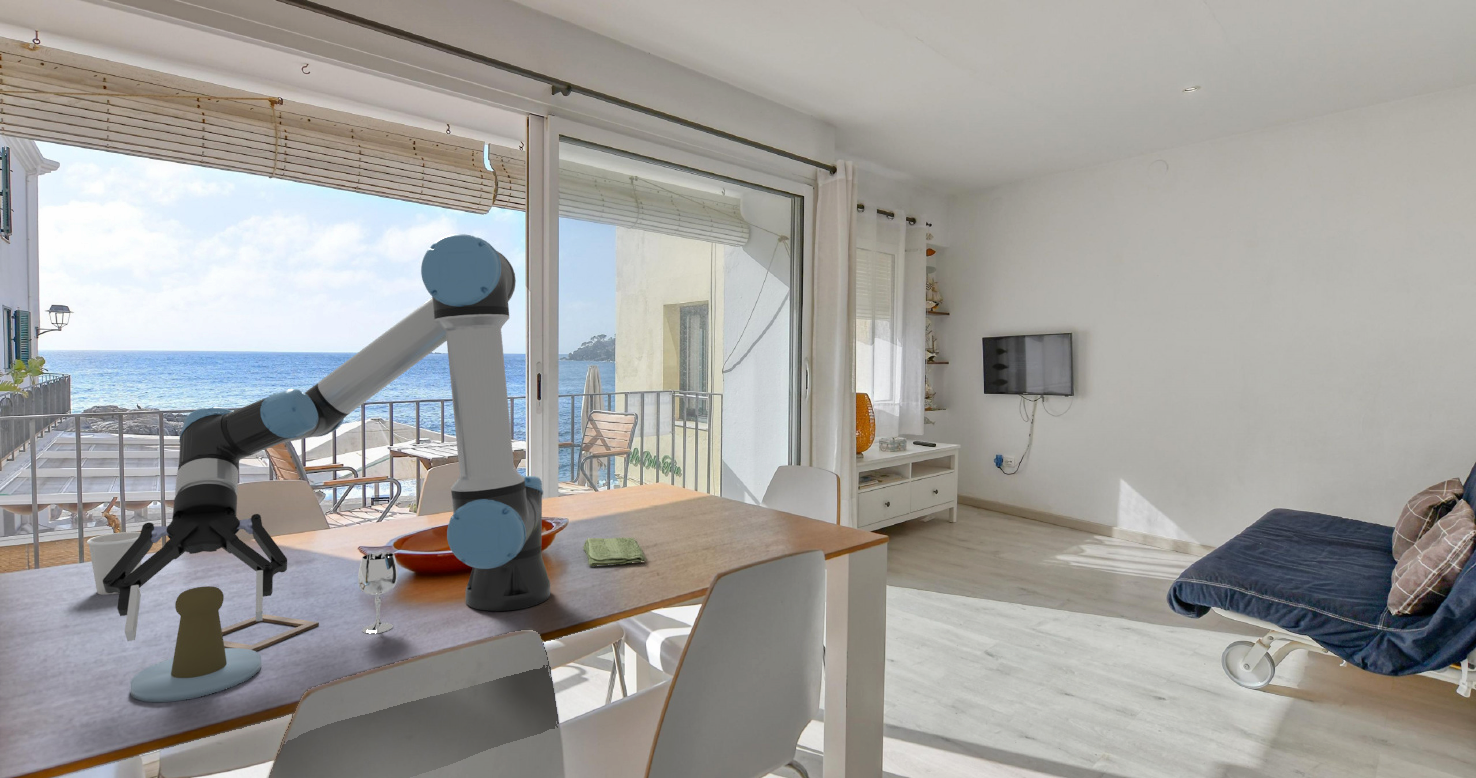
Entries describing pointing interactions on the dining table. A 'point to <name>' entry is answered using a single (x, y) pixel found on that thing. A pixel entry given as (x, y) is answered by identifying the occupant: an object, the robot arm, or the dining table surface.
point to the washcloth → (612, 551)
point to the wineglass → (377, 583)
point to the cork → (199, 633)
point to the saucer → (194, 678)
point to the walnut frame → (302, 627)
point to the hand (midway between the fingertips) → (197, 625)
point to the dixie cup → (109, 554)
